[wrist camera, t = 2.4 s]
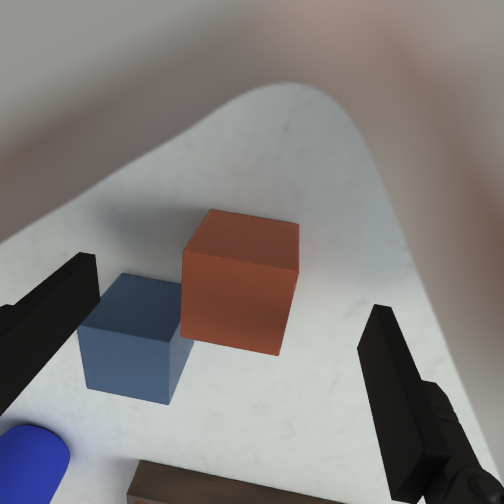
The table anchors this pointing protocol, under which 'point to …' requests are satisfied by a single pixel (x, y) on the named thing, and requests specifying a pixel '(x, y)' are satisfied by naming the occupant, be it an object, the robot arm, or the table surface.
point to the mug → (31, 465)
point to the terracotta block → (239, 281)
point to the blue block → (135, 340)
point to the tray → (202, 489)
